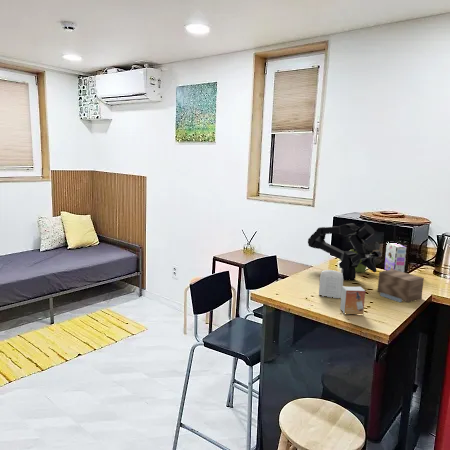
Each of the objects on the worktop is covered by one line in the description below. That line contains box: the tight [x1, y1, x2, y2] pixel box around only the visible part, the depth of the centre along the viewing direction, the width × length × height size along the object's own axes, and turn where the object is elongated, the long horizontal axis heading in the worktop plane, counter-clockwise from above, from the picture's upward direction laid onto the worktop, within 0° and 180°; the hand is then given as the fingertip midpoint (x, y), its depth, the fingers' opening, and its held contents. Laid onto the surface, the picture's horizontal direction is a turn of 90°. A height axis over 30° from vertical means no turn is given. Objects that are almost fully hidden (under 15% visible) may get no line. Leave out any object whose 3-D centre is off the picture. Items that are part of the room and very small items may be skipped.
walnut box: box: [377, 269, 424, 303], centre depth 181 cm, size 16×10×10 cm, turn 31°
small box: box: [339, 285, 366, 315], centre depth 158 cm, size 8×6×10 cm
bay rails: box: [379, 293, 403, 303], centre depth 181 cm, size 10×16×1 cm, turn 124°
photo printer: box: [318, 269, 344, 299], centre depth 177 cm, size 10×4×12 cm, turn 72°
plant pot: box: [348, 249, 371, 273], centre depth 220 cm, size 12×12×11 cm
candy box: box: [384, 241, 408, 273], centre depth 217 cm, size 14×6×16 cm, turn 179°
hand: (375, 271), depth 191 cm, fingers closed
